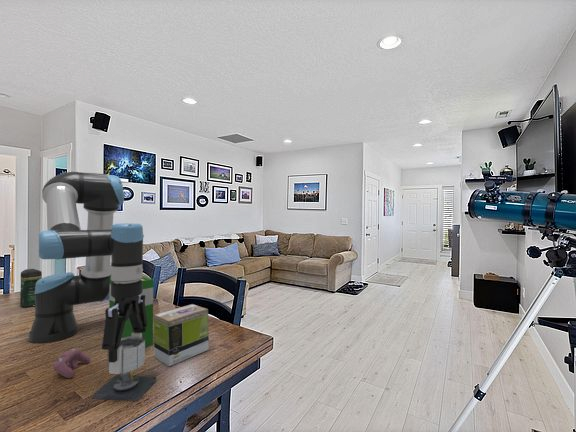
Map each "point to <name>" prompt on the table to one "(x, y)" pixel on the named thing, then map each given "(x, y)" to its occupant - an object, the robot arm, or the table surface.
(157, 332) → the tea box
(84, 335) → the table surface
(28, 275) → the coffee jar
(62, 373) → the video game controller
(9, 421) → the table surface
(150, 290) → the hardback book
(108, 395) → the block
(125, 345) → the hub
